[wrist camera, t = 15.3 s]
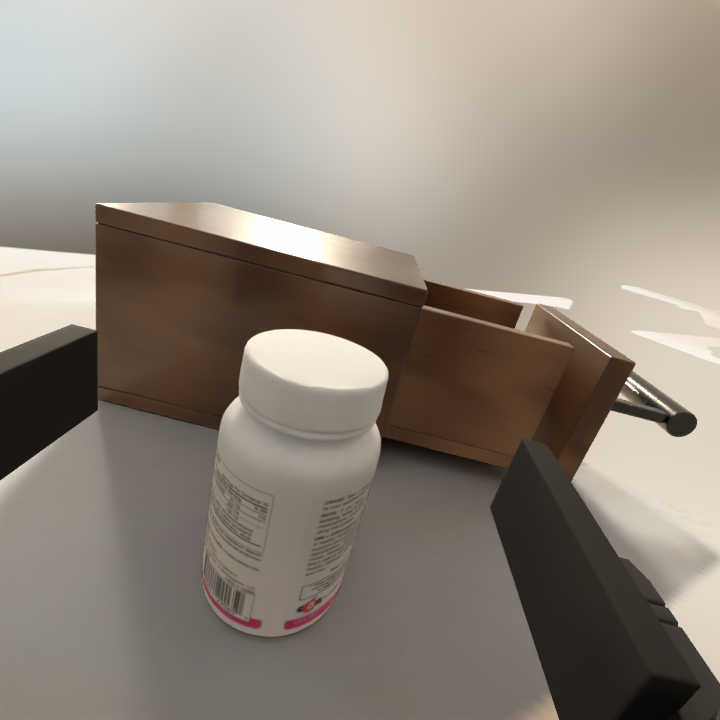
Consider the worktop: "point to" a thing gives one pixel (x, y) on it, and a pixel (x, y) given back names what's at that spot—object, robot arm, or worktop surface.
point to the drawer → (514, 382)
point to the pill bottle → (291, 479)
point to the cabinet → (234, 301)
